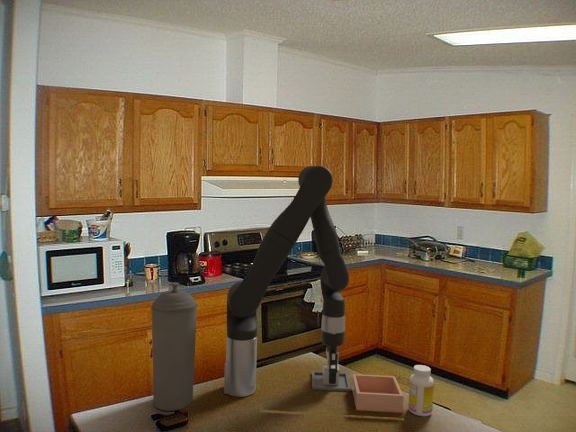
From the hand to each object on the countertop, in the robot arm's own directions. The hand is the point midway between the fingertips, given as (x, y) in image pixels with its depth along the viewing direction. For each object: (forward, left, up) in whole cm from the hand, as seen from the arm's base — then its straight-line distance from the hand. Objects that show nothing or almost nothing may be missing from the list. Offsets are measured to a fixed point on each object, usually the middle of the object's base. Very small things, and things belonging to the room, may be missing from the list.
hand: (331, 377), depth 146 cm
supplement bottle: (+25, -15, -2) cm, 29 cm away
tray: (0, 0, -2) cm, 2 cm away
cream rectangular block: (0, 0, -2) cm, 2 cm away
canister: (-46, -18, -2) cm, 50 cm away
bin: (+13, -11, -2) cm, 17 cm away
